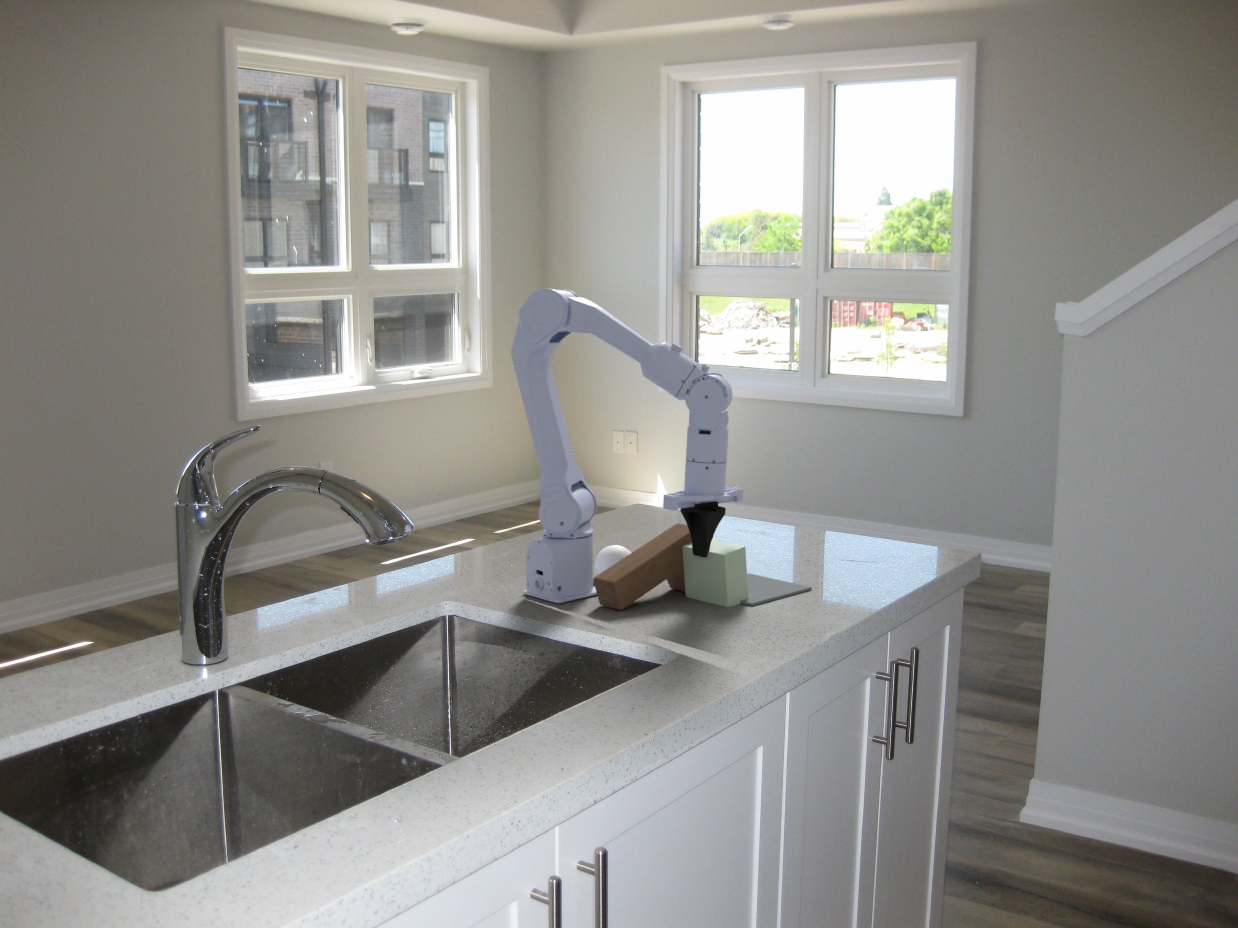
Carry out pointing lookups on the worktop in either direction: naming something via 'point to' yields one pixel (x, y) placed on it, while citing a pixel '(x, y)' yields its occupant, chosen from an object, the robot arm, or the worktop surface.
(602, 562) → the lightbulb
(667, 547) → the wooden block
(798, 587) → the mat
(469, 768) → the worktop surface
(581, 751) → the worktop surface
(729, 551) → the sage block
